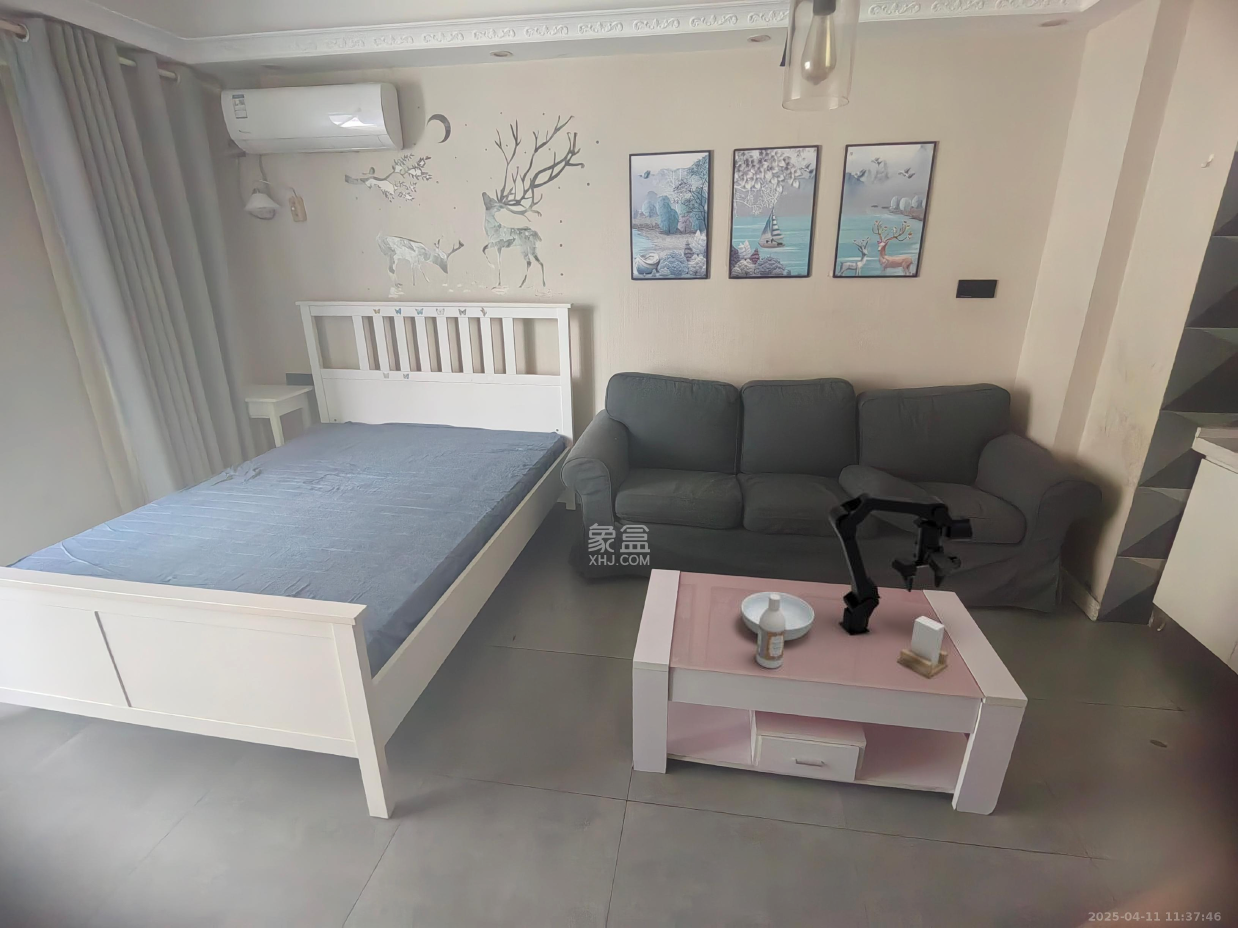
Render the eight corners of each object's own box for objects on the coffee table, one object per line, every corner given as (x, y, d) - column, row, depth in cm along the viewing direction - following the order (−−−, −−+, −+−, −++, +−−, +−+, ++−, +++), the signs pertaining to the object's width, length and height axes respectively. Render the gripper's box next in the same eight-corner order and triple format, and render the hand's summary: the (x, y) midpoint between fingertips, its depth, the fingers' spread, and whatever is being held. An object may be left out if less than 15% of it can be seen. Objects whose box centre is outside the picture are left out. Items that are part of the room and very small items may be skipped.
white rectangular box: (908, 658, 167) (915, 619, 164) (916, 653, 169) (922, 615, 166) (929, 669, 163) (937, 630, 159) (937, 664, 165) (944, 625, 161)
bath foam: (763, 670, 163) (768, 604, 157) (751, 655, 170) (756, 591, 164) (786, 667, 165) (793, 601, 159) (774, 652, 171) (780, 588, 165)
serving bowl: (740, 607, 194) (741, 588, 192) (809, 614, 190) (811, 595, 188) (739, 645, 175) (740, 624, 173) (815, 654, 171) (817, 632, 169)
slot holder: (897, 661, 167) (899, 649, 166) (915, 649, 172) (917, 638, 171) (929, 678, 160) (931, 666, 159) (947, 665, 165) (949, 653, 164)
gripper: (919, 556, 164) (913, 607, 169) (979, 548, 168) (971, 598, 173) (893, 539, 175) (887, 588, 179) (950, 532, 178) (943, 580, 183)
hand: (922, 589), depth 178 cm, fingers open, 9 cm apart
